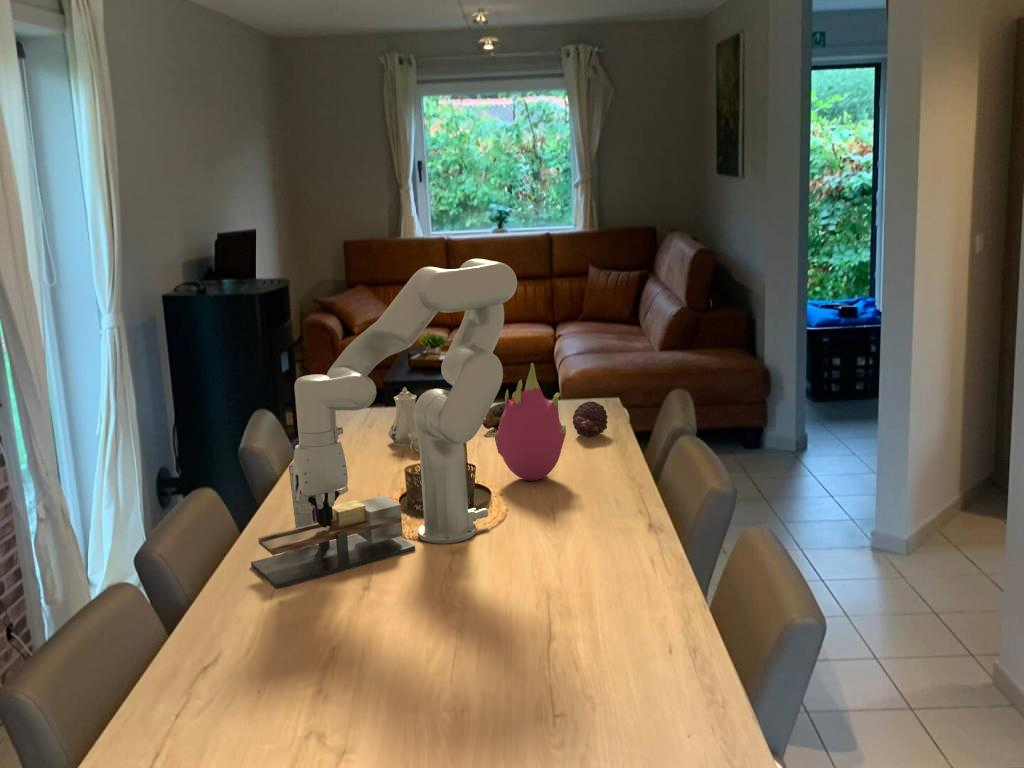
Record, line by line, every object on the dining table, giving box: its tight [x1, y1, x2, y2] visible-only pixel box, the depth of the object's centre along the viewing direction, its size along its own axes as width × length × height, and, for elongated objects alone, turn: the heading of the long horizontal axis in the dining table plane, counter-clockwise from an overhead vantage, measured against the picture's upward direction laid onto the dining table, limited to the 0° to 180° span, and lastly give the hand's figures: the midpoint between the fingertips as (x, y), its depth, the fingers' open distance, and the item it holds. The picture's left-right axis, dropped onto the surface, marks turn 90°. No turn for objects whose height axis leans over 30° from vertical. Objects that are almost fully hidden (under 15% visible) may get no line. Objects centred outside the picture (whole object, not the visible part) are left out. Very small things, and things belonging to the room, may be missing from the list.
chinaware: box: [388, 387, 420, 454], centre depth 286 cm, size 28×17×17 cm, turn 178°
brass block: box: [331, 499, 367, 530], centre depth 207 cm, size 6×4×4 cm
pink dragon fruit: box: [494, 362, 567, 482], centre depth 248 cm, size 18×14×30 cm
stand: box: [250, 531, 416, 590], centre depth 206 cm, size 30×14×7 cm, turn 124°
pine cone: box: [572, 400, 609, 439], centre depth 286 cm, size 18×10×10 cm, turn 178°
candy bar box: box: [288, 461, 324, 528], centre depth 222 cm, size 11×5×16 cm, turn 168°
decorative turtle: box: [482, 402, 505, 430], centre depth 297 cm, size 10×15×8 cm, turn 137°
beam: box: [257, 495, 404, 556], centre depth 205 cm, size 28×8×7 cm, turn 124°
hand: (324, 524), depth 204 cm, fingers closed
